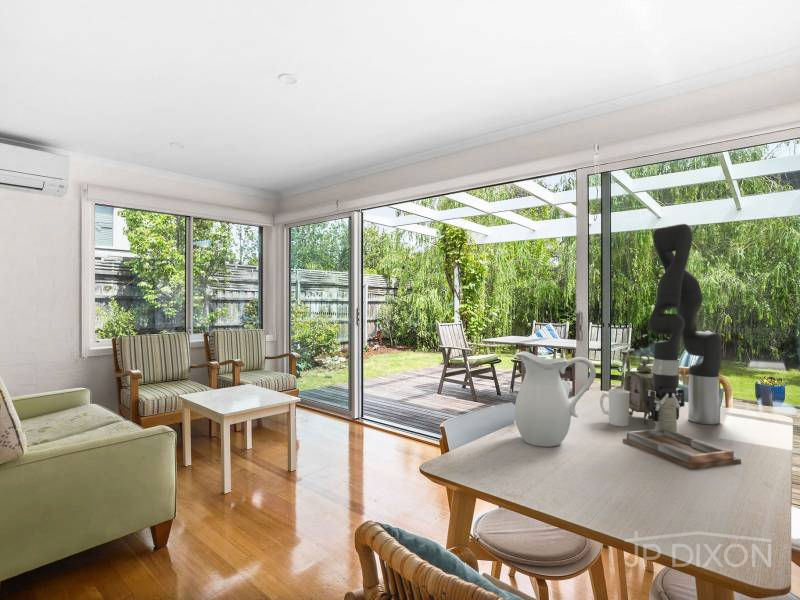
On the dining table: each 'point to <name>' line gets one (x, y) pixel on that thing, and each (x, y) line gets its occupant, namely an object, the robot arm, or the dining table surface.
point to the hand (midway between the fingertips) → (664, 420)
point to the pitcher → (546, 399)
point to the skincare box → (667, 415)
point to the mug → (617, 407)
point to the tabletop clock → (639, 388)
